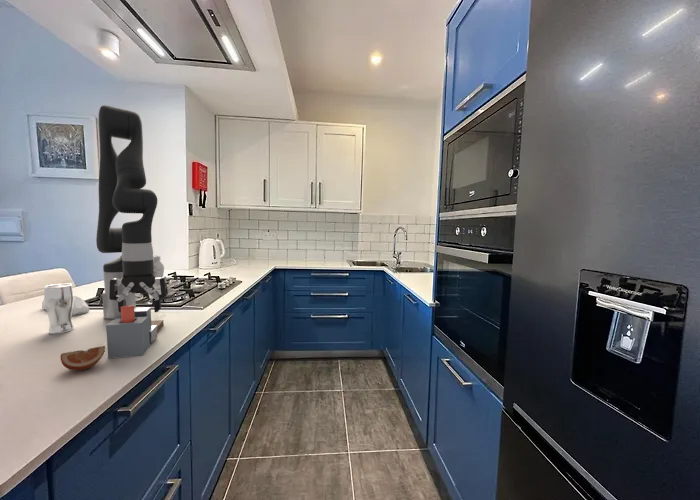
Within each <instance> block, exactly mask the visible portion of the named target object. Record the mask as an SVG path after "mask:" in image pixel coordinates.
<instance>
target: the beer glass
mask: <svg viewBox="0 0 700 500" xmlns="http://www.w3.org/2000/svg"><path fill="white" fill-rule="evenodd" d="M43 292H44V294H43V297H44V299H43V300H44V302H45V307H46V309H45V310H46V313H47V316H48V320H49V326H48V327H49V328H48V334H51V335H59V334H60V335H61V334H65V333H68V332H71V331H74V330H75V327H74V324H73V321H72V317H73V316H72V310H73V303H74V296H75V295H74V289H73V284H72V283H57V284H54V283H53V284H50V285H46V286H44V291H43Z"/></svg>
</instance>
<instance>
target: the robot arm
mask: <svg viewBox="0 0 700 500" xmlns="http://www.w3.org/2000/svg"><path fill="white" fill-rule="evenodd" d="M97 120H98V138H99V139H98V141H99V167H98V169H99V170H98V216H97V217H98V218H97V229H96V239H95V241H96V247H97V250H98V252H99V253H103V254H114V253H115V254H116V253H121V255H120V256H119V257H117V258H116V259H114V260H111V261H108V262H106V263H104V264H103V266H102V269H103V270H102V271H103V286H104V288H103V289H104V291H103V292H102V294H101V296H102V311H103V319H108V320H114V319H117V318H121V307H122V306H125V305H134V309H135V308H137V307H136V306H137V305H136V302H137V301H136V294H137V293H140V294H145V293H147V294H148V296H149V295H151V296H152V297H153V298H154V299H155V300H153V303H154V304H153V305H154V309H153V311H154V313H158V312H159V311H160V310H162V299H161V298H163V299H165V298H166V297H167V296H168V295H169V291H168V283H167V281H168V280H167V277H166V276H163V277H162V278H155V276H154V263H153V256H154V249H153V243H152V242H153V241H152V240H153V239H152V226H153V225H152V224H153V220H154V216H155V213H156V210H157V207H158V196H157V195H156V193H155V192H154V191H153V190H151V189H146V188H144V187H145V186H146V185H147V176H146V172H145V171H146V170H145V167H144V157H143V156H144V155H143V153H144V141H143V140H144V139H143V138H144V137H143V136H144V135H143V122H142V119H141V116H140V114H138V113H137V112H136V111H133V110H128V109H125V108H120V107H115V106H113V105H112V106H111V105H107V104H104V105H103V104H102V105H100V108H99V110H98V119H97ZM112 138H115V139H121V140H126V141H127V140H128V141H130V142H129V143H128V145H127V146H126V147H125V148H123V149H122V151H121V152H120V153H119V154H118V153H117V151H116V149H115V147H114V144H113V140H112ZM119 213H121V214H142V216H141V217H140V219H137V220H134V221H127V222H124V223H123V224H122V226H121V227H111V225H112V223H113V220H114V219H115V218H116V216H117V215H118V214H119ZM155 282H157V283H158V285H160V288H161V294H160V293H159V292H158V291H157V289H156V288H155V287H154V286H153V284H154V283H155Z"/></svg>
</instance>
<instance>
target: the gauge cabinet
mask: <svg viewBox="0 0 700 500" xmlns="http://www.w3.org/2000/svg"><path fill="white" fill-rule="evenodd" d="M105 329H106V330H105V331H106V332H105V333H106V346H107V348H106V349H107V359H118V358H129V357H139V356H144V355H145V354H146V352H147V351H148V350H149V348H150V346H151V344H150V342H149V320H148V316H147V317H135V321H134V322H130V323H121V318H117V319H112V320H111V321H110V322H109V323H107V324H106V325H105Z"/></svg>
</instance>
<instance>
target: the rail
mask: <svg viewBox="0 0 700 500" xmlns="http://www.w3.org/2000/svg"><path fill="white" fill-rule="evenodd" d="M164 322H165V321H164V319H158V320H157V319H156V320H151V326H152V325H157V334H158V333H159V332H160V331H161V329H162V328H163V327H164V324H165V323H164Z"/></svg>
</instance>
